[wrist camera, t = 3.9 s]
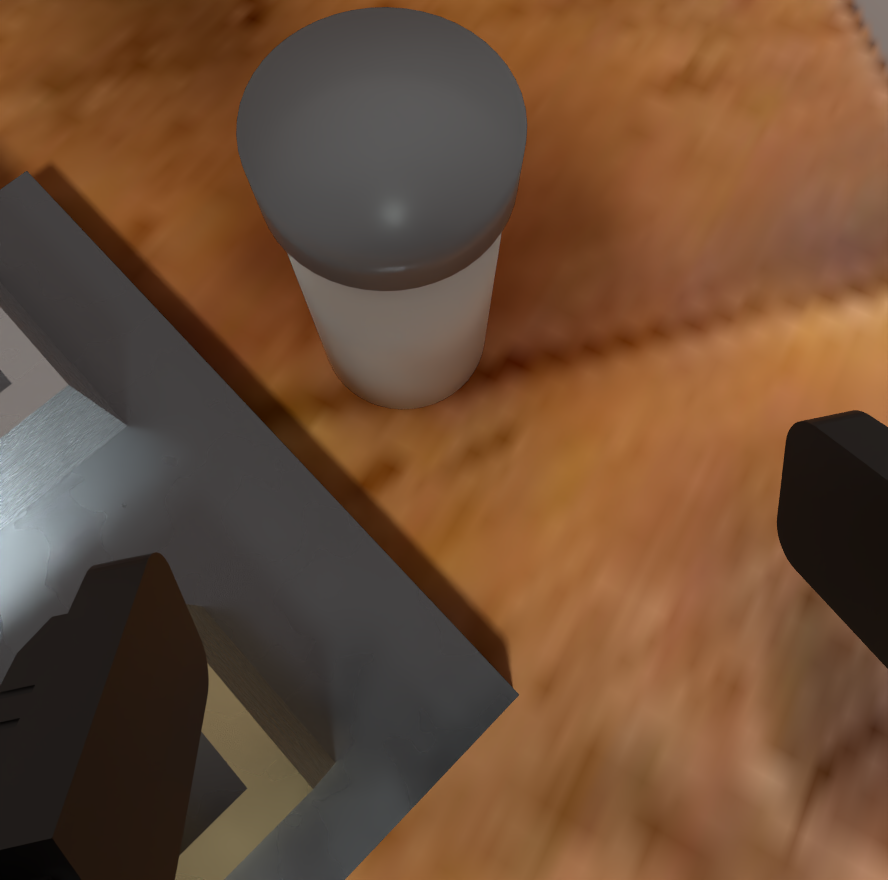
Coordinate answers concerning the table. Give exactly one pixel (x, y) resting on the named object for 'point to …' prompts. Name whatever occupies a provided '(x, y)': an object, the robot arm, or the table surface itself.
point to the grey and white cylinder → (388, 190)
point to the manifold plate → (218, 567)
